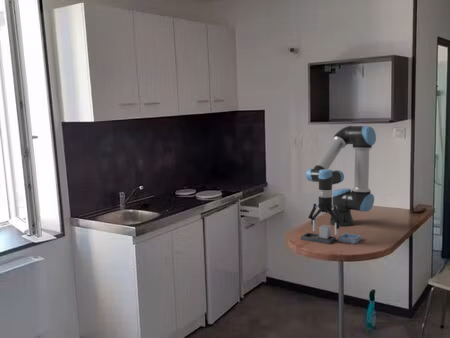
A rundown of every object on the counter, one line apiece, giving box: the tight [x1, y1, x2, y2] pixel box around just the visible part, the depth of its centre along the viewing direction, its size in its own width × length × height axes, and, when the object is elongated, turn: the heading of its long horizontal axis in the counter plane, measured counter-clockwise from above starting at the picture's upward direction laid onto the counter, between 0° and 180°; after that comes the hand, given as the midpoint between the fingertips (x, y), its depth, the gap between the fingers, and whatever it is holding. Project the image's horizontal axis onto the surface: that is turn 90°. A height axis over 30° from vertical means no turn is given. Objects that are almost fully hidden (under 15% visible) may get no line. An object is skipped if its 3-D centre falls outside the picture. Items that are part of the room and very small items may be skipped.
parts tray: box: [337, 232, 362, 245], centre depth 263 cm, size 10×10×2 cm
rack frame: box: [300, 232, 337, 245], centre depth 266 cm, size 9×18×2 cm, turn 53°
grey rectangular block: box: [319, 224, 332, 240], centre depth 263 cm, size 5×5×9 cm
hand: (325, 232), depth 263 cm, fingers open, 13 cm apart
